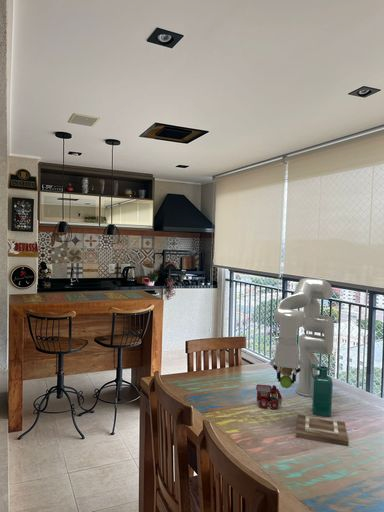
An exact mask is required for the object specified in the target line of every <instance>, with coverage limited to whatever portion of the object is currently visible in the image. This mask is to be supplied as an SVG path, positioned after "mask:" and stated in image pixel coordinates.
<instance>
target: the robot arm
mask: <svg viewBox="0 0 384 512" xmlns="http://www.w3.org/2000/svg"><path fill="white" fill-rule="evenodd" d="M332 296H333V287H332V285H331V283H329V281H327V280H325V279H322V278H308V277H307V278H305V277H304V278H301V279H300V280H299V281H298V282H297V285H296V287H295V289H294V292H293V294H291V295H289V296H287V297H285V298H283V299H281V300H280V301H279V303H278V304H277V306H276V308H275V310H274V314H273V320H274V321H275V323H276V324H277V325H279V330H278V331H279V334H278V336H276V337H275V341H278V342H277V343H276V346H275V352H274V353H275V354H274V357H273V358H272V359H271V360H270V361H269V365H270V366H272V368H273V369H274V370H275V371H276V379H277V382H279V383H280V378H281V377H282V374H281V372H280V367H282V368H283V367H284V368H292V369H293V371H292V375H291V376H292V378H291V379H292V385H294V384H295V382H297V374H298V386H297V387H295V392H296V393H297V394H298V395H300V396H303V397H312V398H313V381H314V378H313V377H312V372H311V365H312V364H315V365H316V366H317V367H319V360H318V358H317V356H316V354H319V355H325V356H328V355H331V354H332V353H333V350H334V340H335V339H334V338H335V337H334V334H335V322H334V318H333V317H332V316H329V315H325V314H324V315H323V314H321V304H320V302H319V300H324V301H325V300H329V299H331V298H332ZM302 308H303V310H299V309H302ZM302 327H303V330H305V331H306V332H311V333H303V334H301V335H300V336H299V338H298V328H302ZM312 333H317V334H312ZM318 334H320V335H318ZM321 334H323V335H321ZM297 340H298V341H297ZM313 373H314V375H319V370H316V369H315V368H313Z"/></svg>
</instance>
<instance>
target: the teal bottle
mask: <svg viewBox="0 0 384 512" xmlns="http://www.w3.org/2000/svg"><path fill="white" fill-rule="evenodd" d="M313 368H315V369H316V370H318V375H314V373H313ZM329 370H330V367H328V366H325V365H318V367H317V366H316V365H315V364H312V365H311V372H312V377H313V378H314V381H313V397H312V409H311V413H312V415H315V416H320V417H328V418H329V417H331V416H332V407H333V405H332V404H333V378H332V376H329V375H328V371H329Z"/></svg>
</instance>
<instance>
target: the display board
mask: <svg viewBox="0 0 384 512" xmlns="http://www.w3.org/2000/svg"><path fill="white" fill-rule="evenodd" d="M346 426H347V425H346V422H345V421H343V420H342V421H341V420H337V419H330V418H323V417H317V416H311V415H305V414H297V419H296V428H295V429H296V431H295V437H296V438H299V439H304V440H311V441H317V442H322V443H329V444H334V445H338V446H339V445H340V446H345V447H349V438H348V432H347V427H346Z"/></svg>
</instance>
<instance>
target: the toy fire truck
mask: <svg viewBox="0 0 384 512" xmlns="http://www.w3.org/2000/svg"><path fill="white" fill-rule="evenodd" d="M255 387H256V402H257V403H258V404H259V407H260V408H261V409H267V408H268V407H270V408H271V409H272V410H277V409H278V408H279V406H280V405H282V402H283V397H282V394H281V393H280V391H279V388H277V386H276V385H275V384H274V385H270V384H260V383H259V384H256V386H255Z"/></svg>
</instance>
